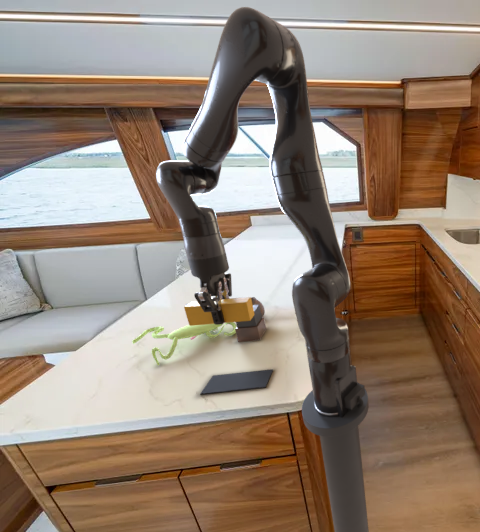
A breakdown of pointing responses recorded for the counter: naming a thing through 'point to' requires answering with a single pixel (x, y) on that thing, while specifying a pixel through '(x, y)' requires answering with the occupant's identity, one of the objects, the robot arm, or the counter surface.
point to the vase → (256, 302)
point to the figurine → (183, 335)
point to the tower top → (253, 321)
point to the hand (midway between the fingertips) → (223, 319)
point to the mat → (237, 381)
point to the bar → (230, 307)
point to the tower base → (251, 332)
